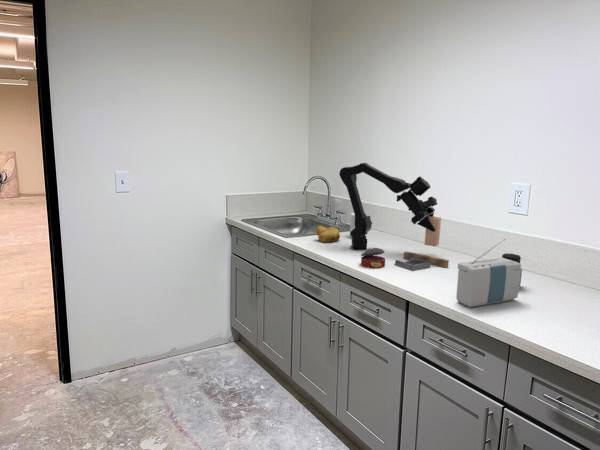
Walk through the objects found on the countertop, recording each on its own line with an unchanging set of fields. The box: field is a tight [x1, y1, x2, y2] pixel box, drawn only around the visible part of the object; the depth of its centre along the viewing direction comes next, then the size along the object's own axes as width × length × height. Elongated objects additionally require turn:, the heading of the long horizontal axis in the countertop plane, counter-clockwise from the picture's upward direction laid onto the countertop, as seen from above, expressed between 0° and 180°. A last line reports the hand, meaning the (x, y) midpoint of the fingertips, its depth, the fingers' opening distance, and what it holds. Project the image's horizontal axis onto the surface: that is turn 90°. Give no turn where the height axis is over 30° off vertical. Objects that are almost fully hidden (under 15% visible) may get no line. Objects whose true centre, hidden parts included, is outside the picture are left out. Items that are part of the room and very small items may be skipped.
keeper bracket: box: [393, 257, 432, 271], centre depth 195 cm, size 10×10×2 cm
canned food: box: [360, 247, 386, 269], centre depth 195 cm, size 11×10×10 cm
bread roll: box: [315, 225, 341, 243], centre depth 238 cm, size 13×10×8 cm
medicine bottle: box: [501, 252, 523, 288], centre depth 170 cm, size 7×7×12 cm
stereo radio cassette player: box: [455, 238, 522, 308], centre depth 153 cm, size 21×8×20 cm, turn 115°
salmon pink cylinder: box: [424, 216, 442, 247], centre depth 206 cm, size 5×5×12 cm
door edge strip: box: [402, 250, 450, 269], centre depth 201 cm, size 20×2×3 cm, turn 47°
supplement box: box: [349, 212, 355, 240], centre depth 247 cm, size 7×7×13 cm
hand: (436, 230), depth 205 cm, fingers closed on salmon pink cylinder, 5 cm apart
